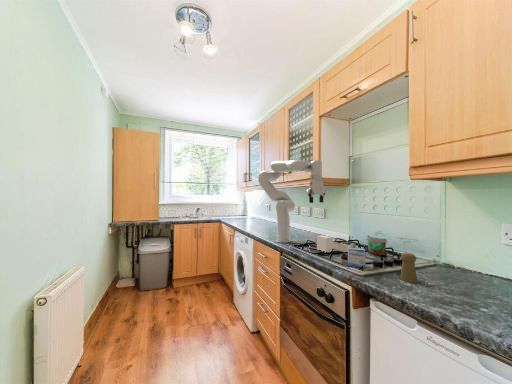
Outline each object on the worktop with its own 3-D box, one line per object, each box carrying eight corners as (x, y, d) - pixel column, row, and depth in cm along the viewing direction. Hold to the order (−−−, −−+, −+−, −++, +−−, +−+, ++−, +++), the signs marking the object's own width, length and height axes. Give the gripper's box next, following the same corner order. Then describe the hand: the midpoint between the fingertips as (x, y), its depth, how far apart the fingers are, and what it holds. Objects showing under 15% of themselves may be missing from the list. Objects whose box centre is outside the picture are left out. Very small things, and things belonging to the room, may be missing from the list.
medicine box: (347, 266, 111) (347, 248, 111) (347, 263, 115) (347, 247, 115) (365, 268, 108) (365, 250, 108) (364, 265, 112) (364, 248, 112)
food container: (361, 252, 138) (361, 236, 138) (368, 251, 141) (368, 235, 141) (380, 257, 127) (379, 239, 127) (387, 256, 130) (387, 238, 130)
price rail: (315, 244, 159) (315, 236, 159) (318, 244, 160) (318, 236, 161) (352, 254, 133) (352, 244, 133) (355, 253, 135) (355, 243, 135)
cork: (396, 278, 94) (396, 252, 94) (406, 276, 97) (405, 251, 97) (411, 284, 89) (411, 256, 89) (421, 281, 91) (420, 254, 91)
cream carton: (326, 252, 138) (326, 238, 138) (316, 249, 145) (316, 236, 145) (332, 251, 140) (332, 237, 141) (322, 248, 147) (322, 235, 148)
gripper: (310, 177, 149) (311, 203, 148) (329, 178, 157) (329, 202, 157) (303, 178, 155) (303, 202, 155) (321, 179, 164) (321, 202, 164)
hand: (316, 202), depth 156 cm, fingers open, 9 cm apart
